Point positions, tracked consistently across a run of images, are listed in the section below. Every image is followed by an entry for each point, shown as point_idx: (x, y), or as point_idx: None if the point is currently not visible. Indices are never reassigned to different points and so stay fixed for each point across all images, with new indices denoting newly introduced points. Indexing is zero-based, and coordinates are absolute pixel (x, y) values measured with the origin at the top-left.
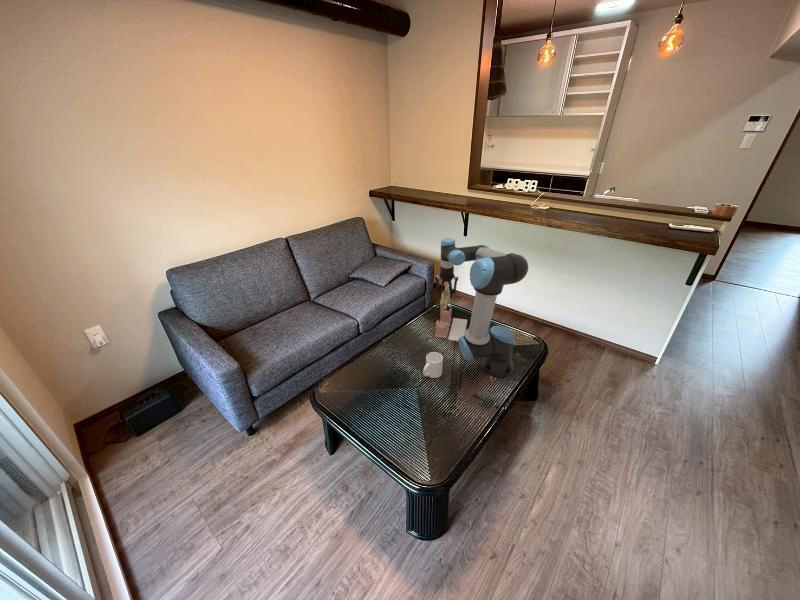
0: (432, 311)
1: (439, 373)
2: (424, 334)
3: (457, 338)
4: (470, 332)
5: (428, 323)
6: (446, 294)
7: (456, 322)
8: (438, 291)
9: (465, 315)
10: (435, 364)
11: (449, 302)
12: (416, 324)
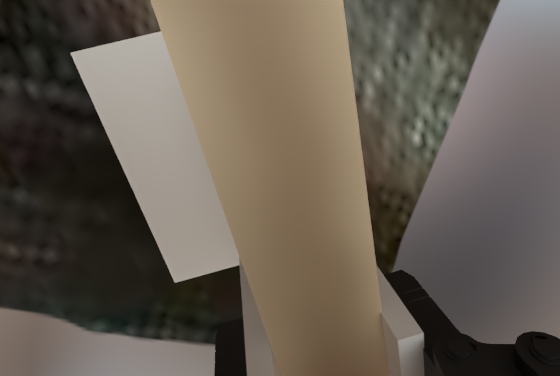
0: (383, 265)
1: None
2: (353, 18)
3: (126, 67)
4: None
5: (368, 150)
6: (326, 365)
7: (218, 230)
8: (521, 353)
9: (207, 313)
10: None
11: (241, 263)
12: (433, 106)
